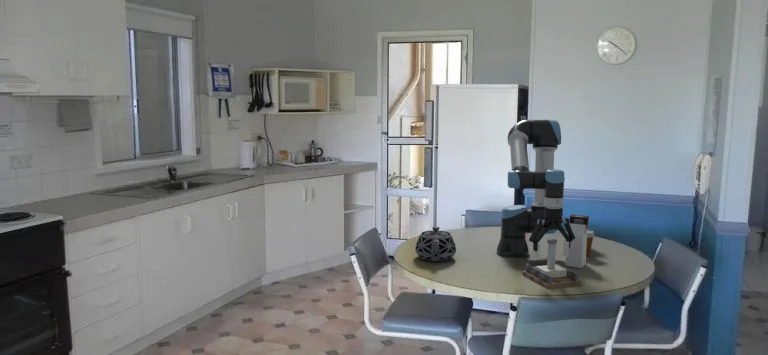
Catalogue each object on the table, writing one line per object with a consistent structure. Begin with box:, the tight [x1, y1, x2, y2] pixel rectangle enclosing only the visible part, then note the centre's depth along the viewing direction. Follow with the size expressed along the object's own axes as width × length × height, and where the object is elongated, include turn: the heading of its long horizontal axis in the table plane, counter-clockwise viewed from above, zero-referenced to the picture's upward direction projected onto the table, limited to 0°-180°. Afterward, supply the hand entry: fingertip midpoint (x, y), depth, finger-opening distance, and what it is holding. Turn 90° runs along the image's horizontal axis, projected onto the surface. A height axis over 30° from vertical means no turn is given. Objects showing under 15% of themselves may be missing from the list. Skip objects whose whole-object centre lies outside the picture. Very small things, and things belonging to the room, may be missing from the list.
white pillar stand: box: [535, 238, 567, 278], centre depth 261 cm, size 8×10×15 cm
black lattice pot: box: [414, 226, 457, 262], centre depth 294 cm, size 19×31×15 cm, turn 177°
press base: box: [521, 257, 583, 289], centre depth 261 cm, size 20×16×6 cm
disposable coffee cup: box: [586, 229, 595, 258], centre depth 299 cm, size 10×10×12 cm
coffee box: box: [569, 214, 590, 230], centre depth 315 cm, size 9×6×16 cm
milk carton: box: [565, 222, 587, 269], centre depth 282 cm, size 7×7×19 cm
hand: (551, 257), depth 261 cm, fingers open, 13 cm apart
